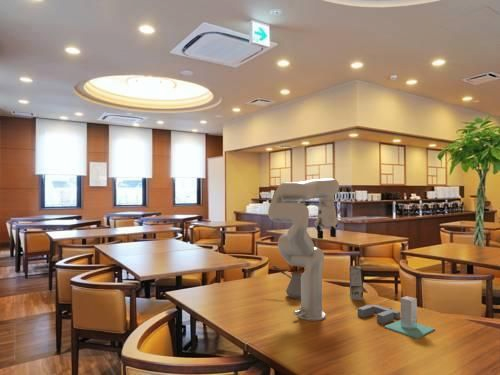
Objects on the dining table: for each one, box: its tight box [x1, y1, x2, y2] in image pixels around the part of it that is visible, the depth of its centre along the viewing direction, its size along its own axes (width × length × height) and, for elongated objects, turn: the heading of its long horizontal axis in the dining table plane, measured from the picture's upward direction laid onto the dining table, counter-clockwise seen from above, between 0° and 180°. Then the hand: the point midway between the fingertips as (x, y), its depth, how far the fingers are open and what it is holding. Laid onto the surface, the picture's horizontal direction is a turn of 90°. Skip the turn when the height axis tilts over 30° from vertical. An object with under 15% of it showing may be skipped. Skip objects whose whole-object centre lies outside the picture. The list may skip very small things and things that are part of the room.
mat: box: [383, 319, 436, 340], centre depth 147 cm, size 14×14×1 cm
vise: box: [357, 304, 401, 325], centre depth 162 cm, size 16×13×4 cm
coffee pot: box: [271, 265, 303, 300], centre depth 194 cm, size 21×12×15 cm, turn 55°
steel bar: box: [400, 295, 418, 330], centre depth 147 cm, size 4×4×12 cm
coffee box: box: [349, 265, 364, 301], centre depth 190 cm, size 9×6×16 cm
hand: (326, 237), depth 181 cm, fingers open, 9 cm apart
